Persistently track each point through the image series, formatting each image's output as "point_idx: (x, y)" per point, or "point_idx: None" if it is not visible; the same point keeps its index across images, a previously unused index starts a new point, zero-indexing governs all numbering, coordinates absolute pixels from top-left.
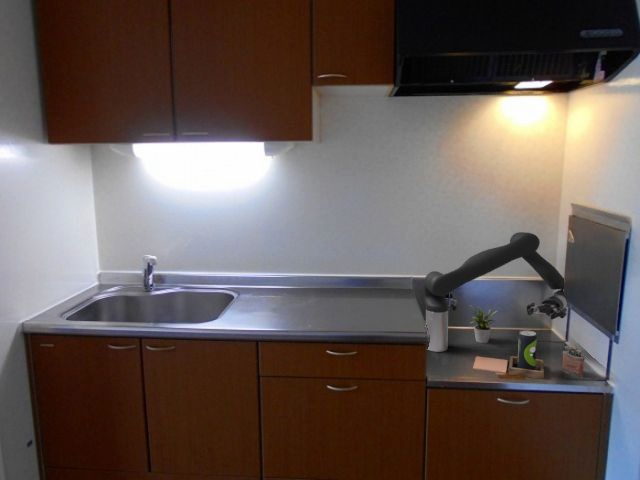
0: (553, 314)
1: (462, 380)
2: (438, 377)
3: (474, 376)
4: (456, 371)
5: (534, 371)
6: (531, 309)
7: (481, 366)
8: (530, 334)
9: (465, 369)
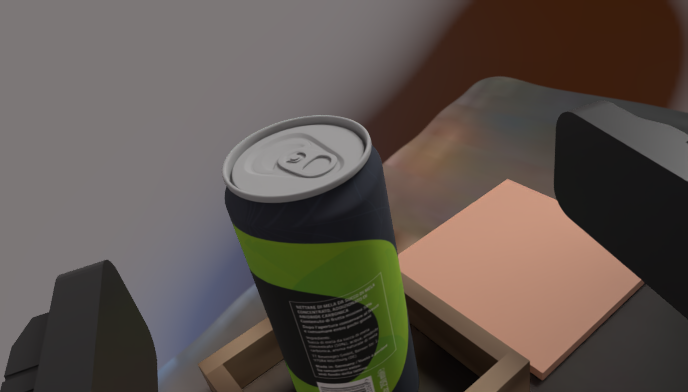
0: (59, 329)
1: (426, 129)
2: (487, 90)
3: (435, 166)
4: (513, 137)
5: (248, 331)
6: (616, 138)
7: (506, 210)
8: (272, 168)
9: (519, 165)
